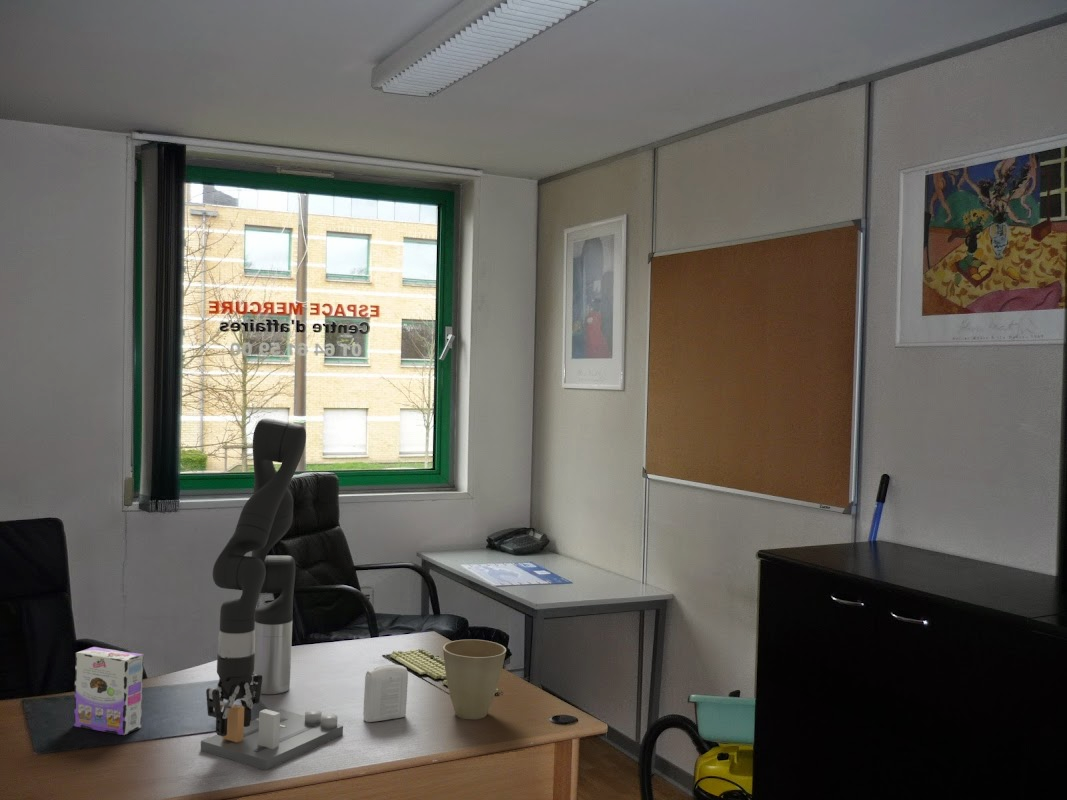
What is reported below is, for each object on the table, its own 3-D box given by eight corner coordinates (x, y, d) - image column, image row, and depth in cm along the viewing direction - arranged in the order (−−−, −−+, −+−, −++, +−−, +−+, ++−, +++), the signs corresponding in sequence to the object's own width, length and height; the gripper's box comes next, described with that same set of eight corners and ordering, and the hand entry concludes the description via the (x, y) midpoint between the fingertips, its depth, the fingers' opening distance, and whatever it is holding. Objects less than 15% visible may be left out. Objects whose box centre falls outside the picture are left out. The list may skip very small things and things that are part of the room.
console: (200, 750, 213) (202, 707, 212) (280, 718, 234) (282, 679, 234) (265, 770, 204) (267, 725, 204) (342, 734, 225) (344, 694, 225)
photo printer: (400, 712, 242) (402, 660, 241) (408, 717, 238) (411, 665, 238) (360, 718, 236) (362, 665, 236) (368, 724, 233) (370, 670, 232)
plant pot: (438, 724, 235) (441, 655, 234) (441, 703, 249) (444, 638, 249) (503, 726, 235) (507, 657, 235) (502, 705, 250) (505, 640, 250)
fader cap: (222, 738, 214) (223, 705, 214) (229, 735, 216) (230, 703, 215) (236, 742, 212) (238, 709, 212) (243, 740, 214) (244, 706, 213)
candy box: (142, 727, 224) (145, 653, 223) (123, 736, 218) (126, 660, 218) (91, 718, 228) (94, 645, 228) (72, 726, 223) (74, 651, 222)
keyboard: (381, 658, 287) (381, 649, 287) (427, 653, 295) (427, 644, 295) (463, 706, 250) (464, 696, 250) (513, 698, 258) (513, 688, 258)
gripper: (247, 640, 221) (244, 717, 222) (196, 655, 209) (193, 737, 209) (274, 646, 218) (271, 724, 218) (224, 662, 205) (220, 744, 206)
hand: (233, 730), depth 214 cm, fingers open, 6 cm apart
